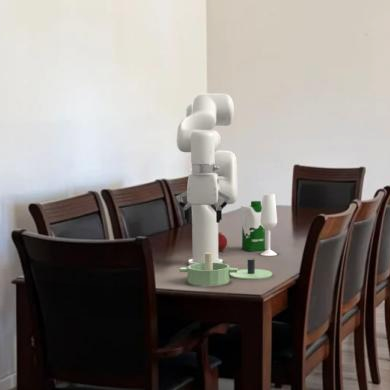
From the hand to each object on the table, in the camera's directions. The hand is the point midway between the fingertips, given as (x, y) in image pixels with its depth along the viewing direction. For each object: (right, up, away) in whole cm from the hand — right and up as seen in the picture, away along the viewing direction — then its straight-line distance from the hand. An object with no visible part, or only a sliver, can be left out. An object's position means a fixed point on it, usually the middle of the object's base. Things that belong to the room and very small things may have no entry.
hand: (203, 222), depth 254 cm
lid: (+14, -19, +15) cm, 28 cm away
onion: (-3, -14, +62) cm, 63 cm away
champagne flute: (+17, -15, +57) cm, 61 cm away
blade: (+1, -20, +5) cm, 20 cm away
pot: (+1, -20, +5) cm, 21 cm away
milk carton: (+9, -14, +67) cm, 69 cm away
